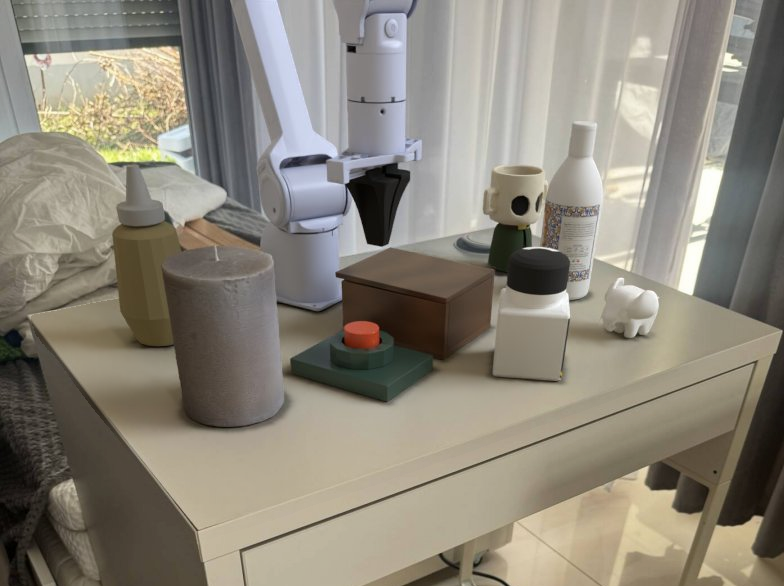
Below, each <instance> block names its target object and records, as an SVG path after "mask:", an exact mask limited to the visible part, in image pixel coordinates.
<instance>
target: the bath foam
mask: <svg viewBox="0 0 784 586" xmlns="http://www.w3.org/2000/svg"><path fill="white" fill-rule="evenodd" d="M597 130H598V123H597V122H595V121H589V120H576V121H572V123H571V132H570V138H569V145H568V152H567V153H568V155H567V156H566V158H565V159H564V160H563V162H562V163H561V165H560V166H559V167H558V168H557V170H556V172H555V173H554V175H552V177H551V180H550V183H549V184H548V191H547V195H546V201H545V204H544V210H543V218H542V219H543V220H542V225H541V226H542V227H541V234H540V235H541V236H540V244H539V247H546V248H551V249H555V250H558V251H560V252H562V253H563V254H565V255H566V256H567V257H568V258H569V260H570V267H569V274H568V281H567V288H566V292H567V293H568V297H569V301H575V300H579V299H583V298H584V297H585V296H587V295H588V293H589V290H590V285H591V278H592V271H593V266H594V265H593V264H594V259H595V253H596V246H597V241H598V235H599V228H600V221H601V216H602V209H603V203H604V202H603V201H604V186H603V181H602V177H601V174H600V172H599V170H598V167H597V164H596V162H595V160H594V151H595V145H596V144H595V143H596V137H597Z"/></svg>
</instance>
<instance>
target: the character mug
mask: <svg viewBox="0 0 784 586" xmlns="http://www.w3.org/2000/svg"><path fill="white" fill-rule="evenodd" d="M548 188H549V182H548V180H547V179H546V170H545V169H544V168H541V167H538V166H533V165H527V164H502V165H501V164H500V165H496V166H494V167H492V169H491V175H490V187H488V188H486V189H485V190H484V191H483V198H482V199H483V200H482V213H483V215H485V216H488V217H489V219H490V220H491V221H493V222H495V223H497V224H496V225H495V227H494V229H493V233H492V238H491V243H490V247H489V253H488V258H487V264H488V265H489V266H491V267H492V268H494V269H495V270H498V271H499V272H506V273H508V264H509V257H510V256H511V255H512V253H514V252H515V251H518V250H520V249H523V248H527V247H533V235H532V234H533V232H532V228H531V225H534V224H536V223H537V222H538V221H539V219H540V218H541V215H542V211H543V206H545V201H546V195H547V191H548Z"/></svg>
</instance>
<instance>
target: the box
mask: <svg viewBox="0 0 784 586" xmlns="http://www.w3.org/2000/svg"><path fill="white" fill-rule="evenodd" d="M340 283H341V287H342V300H341V307H342V331H344V327H345V325H347V324H348V323H351V322H356V321H367V322H372V323H375V324H377V325H378V326H379V331H383V332H386V333H388V334H389V335H390V336H392V337H393V338H394V345H395V346H399V347H403V348H407V349H411V350H415V351H418V352H422V353H426V354H430V355H433V359H437V360H441V361H445V360H446V359H448V358H449V357H450V356H452V355H453V354H454V353H456V352H458V351H459V350H460V349H462V348H464V347H465V346H466V345H467V344H469V343H471V342H472V341H473V340H475V339H476V338H478V337H479V336H480V335H482V334H483V333H485V332H486V331H488V330H489V329H491V324H492V323H491V322H492V312H493V311H492V310H493V299H494V289H495V288H494V287H495V275H493V276H492V277H490V278H488V279H487V280H485V281H483V282H482V283H480V284H478V285H477V286H475V287H473V288H472V289H470V290H468V291H467V292H465V293H463V294H462V295H460V296H458V297H457V298H455V299H453V300H452V301H450V302H448V303H447V304H444V303H440V302H436V301H432V300H428V299H424V298H420V297H415V296H411V295H407V294H403V293H399V292H395V291H390V290H386V289H382V288H378V287H374V286H370V285H366V284H361V283H357V282H353V281H349V280H345V279H342V280H340Z"/></svg>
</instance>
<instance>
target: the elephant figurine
mask: <svg viewBox="0 0 784 586" xmlns="http://www.w3.org/2000/svg"><path fill="white" fill-rule="evenodd" d="M624 284H625V278H623V277H618V278H616V279H615V280H614V281H613V282H612V283H611V284H610V285H609V286H608V288H607V289H606V291H605V294H604V302H605V305H604V307H603V310H602V312H601V315H600V317H599V320H598V321H601V320H602V324H603V327H604V329H605V330H606V331H607V332H613V331H614V332H615V333H617V334H622V333H623V336H624V337H625V338H627V339H633V338H635V337H636V335H637V334H638V335H641V336H646V335H648V334H649V332H650V330H651V328H652V327H653V324H654V322H655V320H656V318H657V315H658V312H659V308H660V307H659V306H660V304H659V299H660V297H659V296H658V295H657V293H656V292H655V291H653V290H650V289H647V290H645V289H643V288H641V287H638V286H636V285H632V284H628V285H624Z"/></svg>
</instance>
